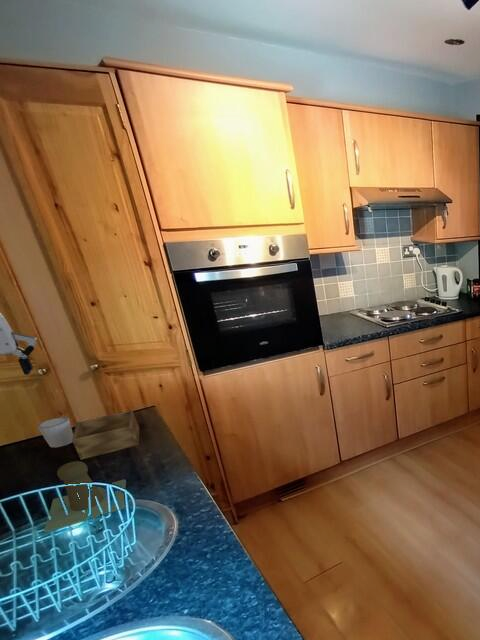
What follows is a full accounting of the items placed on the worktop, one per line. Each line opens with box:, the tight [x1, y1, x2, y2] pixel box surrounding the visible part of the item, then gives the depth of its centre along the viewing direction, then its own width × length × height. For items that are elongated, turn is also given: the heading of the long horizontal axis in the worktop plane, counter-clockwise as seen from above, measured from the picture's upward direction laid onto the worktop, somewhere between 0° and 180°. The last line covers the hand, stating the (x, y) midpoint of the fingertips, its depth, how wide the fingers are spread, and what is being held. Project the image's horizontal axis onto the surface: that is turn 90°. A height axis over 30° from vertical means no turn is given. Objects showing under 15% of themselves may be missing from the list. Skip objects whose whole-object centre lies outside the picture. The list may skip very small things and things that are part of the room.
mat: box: [44, 478, 127, 534], centre depth 110 cm, size 14×14×1 cm
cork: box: [56, 460, 104, 511], centre depth 108 cm, size 6×6×11 cm
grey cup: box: [36, 416, 74, 448], centre depth 135 cm, size 7×7×7 cm
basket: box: [72, 409, 140, 460], centre depth 135 cm, size 13×13×6 cm
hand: (0, 376), depth 108 cm, fingers open, 9 cm apart
